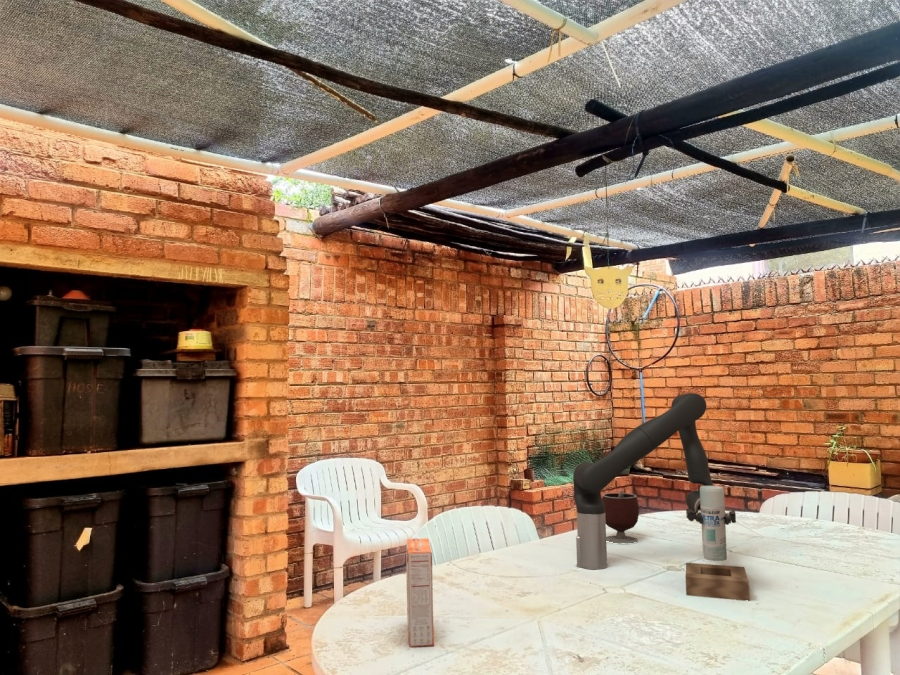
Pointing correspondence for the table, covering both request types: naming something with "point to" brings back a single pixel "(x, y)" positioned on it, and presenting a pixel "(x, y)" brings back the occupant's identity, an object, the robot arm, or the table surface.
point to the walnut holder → (717, 581)
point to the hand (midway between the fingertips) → (714, 520)
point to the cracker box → (419, 592)
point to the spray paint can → (713, 523)
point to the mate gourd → (621, 515)
